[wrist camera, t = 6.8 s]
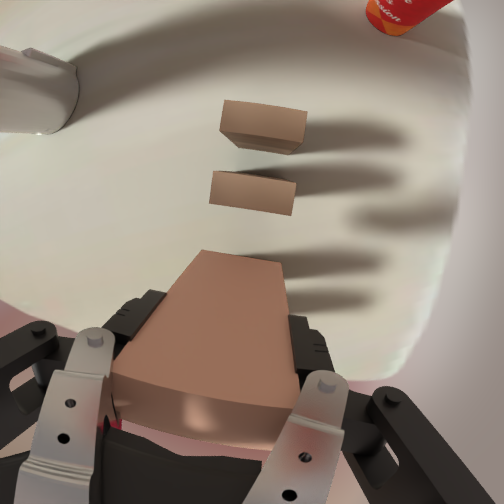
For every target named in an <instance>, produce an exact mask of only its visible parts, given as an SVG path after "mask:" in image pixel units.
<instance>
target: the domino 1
mask: <svg viewBox="0 0 504 504" xmlns="http://www.w3.org/2000/svg"><path fill="white" fill-rule="evenodd" d="M288 315H289V309H288V302H287V296H286V290H285V283H284V277H283V271H282V265H281V263H279V262H273V261H267V260H261V259H255V258H249V257H243V256H237V255H231V254H225V253H219V252H213V251H207V250H201V251H200V252H199V254H198V255H197V256H196V257H195V258H194V260H193V261H192V262H191V263H190V264H189V266H188V267H187V268H186V269H185V271H184V272H183V273H182V274H181V276H180V277H179V278H178V279H177V280H176V282H175V283H174V284H173V285H172V287H171V288H170V289H169V290H168V292H167V295H166V297H165V298H164V299H163V301H162V302H161V303H160V304H159V306H158V307H157V308H156V310H155V311H154V312H153V313H152V315H151V316H150V317H149V319H148V320H147V321H146V323H145V324H144V325H143V327H142V328H141V329H140V330H139V332H138V333H137V334H136V336H135V337H134V338H133V340H132V341H131V342H130V341H129V342H128V343H127V344H126V346H125V347H124V348H123V350H122V351H121V352H120V354H119V355H118V356H117V358H116V359H115V360H114V363H113V370H112V373H113V380H112V388H111V392H112V397H113V402H114V406H115V410H116V411H118V412H120V414H121V419H123V420H126V421H129V422H132V423H135V424H138V425H142V426H145V427H148V428H151V429H155V430H158V431H163V432H166V433H170V434H174V435H178V436H182V437H186V438H191V439H195V440H200V441H206V442H211V443H216V444H222V445H228V446H235V447H243V448H250V449H261V450H270V451H272V449H273V447H274V446H275V444H276V442H277V440H278V438H279V436H280V433H281V431H282V429H283V427H284V425H285V423H286V421H287V419H288V417H289V415H290V414H291V413H292V411H293V408H294V406H295V404H296V402H297V399H298V397H299V395H300V386H299V378H298V374H295V369H294V360H293V352H292V344H291V337H290V329H289V321H288Z"/></svg>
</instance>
